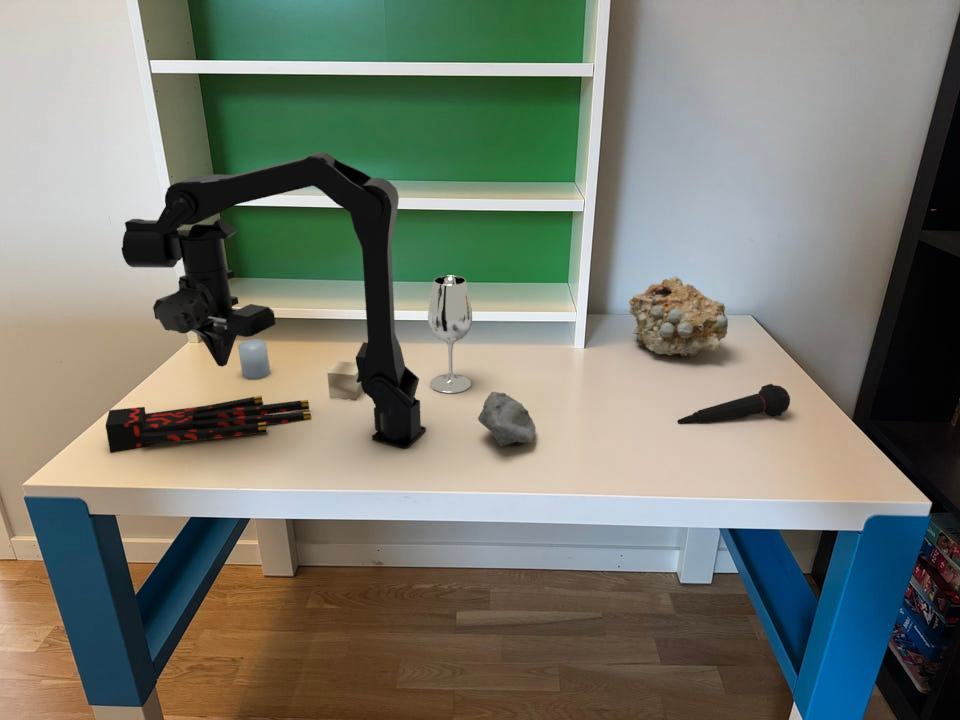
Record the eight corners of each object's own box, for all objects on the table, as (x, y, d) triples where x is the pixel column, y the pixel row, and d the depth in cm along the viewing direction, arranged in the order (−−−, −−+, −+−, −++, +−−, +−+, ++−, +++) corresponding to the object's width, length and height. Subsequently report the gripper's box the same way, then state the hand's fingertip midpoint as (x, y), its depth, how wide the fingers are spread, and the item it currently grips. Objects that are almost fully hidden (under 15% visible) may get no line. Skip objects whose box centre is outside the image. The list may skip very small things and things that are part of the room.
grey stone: (535, 461, 103) (537, 414, 100) (475, 458, 104) (475, 411, 101) (534, 424, 114) (537, 381, 110) (480, 422, 114) (480, 378, 111)
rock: (622, 336, 152) (623, 270, 147) (710, 332, 151) (715, 265, 145) (636, 370, 135) (638, 297, 129) (736, 366, 134) (742, 292, 128)
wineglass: (478, 380, 129) (480, 277, 120) (460, 397, 122) (460, 289, 114) (441, 372, 132) (440, 271, 123) (421, 388, 125) (418, 283, 117)
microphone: (683, 445, 114) (791, 419, 117) (688, 422, 110) (800, 396, 113) (668, 421, 118) (773, 397, 121) (673, 398, 114) (782, 374, 117)
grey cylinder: (275, 371, 131) (271, 342, 129) (256, 381, 127) (251, 352, 125) (256, 366, 133) (252, 337, 131) (236, 376, 129) (232, 346, 127)
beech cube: (365, 388, 125) (364, 363, 123) (356, 400, 121) (355, 375, 119) (339, 385, 126) (337, 361, 124) (329, 398, 122) (327, 372, 119)
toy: (307, 414, 120) (114, 434, 110) (306, 388, 118) (109, 406, 108) (314, 437, 113) (108, 461, 102) (313, 410, 111) (103, 432, 100)
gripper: (112, 274, 96) (135, 375, 103) (213, 292, 89) (231, 399, 96) (174, 254, 106) (192, 348, 112) (270, 269, 98) (284, 368, 105)
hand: (222, 365), depth 106 cm, fingers closed
